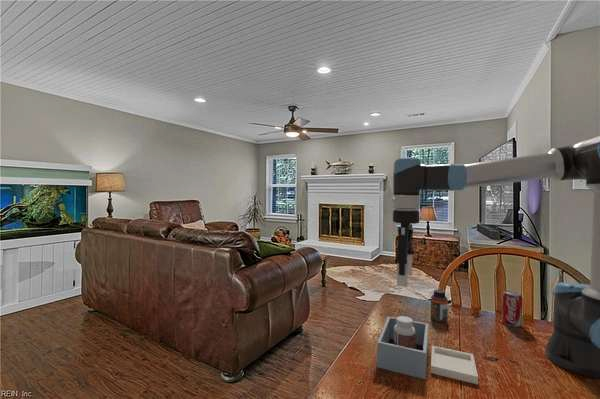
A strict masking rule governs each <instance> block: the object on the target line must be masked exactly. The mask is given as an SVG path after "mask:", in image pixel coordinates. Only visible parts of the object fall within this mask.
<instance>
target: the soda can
mask: <svg viewBox="0 0 600 399" xmlns="http://www.w3.org/2000/svg"><path fill="white" fill-rule="evenodd" d="M501 297H502V298H501V299H502V300H501V322H503V324H504V325H506V326H508V327H511V326H513V327H512V328H519V327H521V326H522V325H523V306H524V305H523V301H524V300H523V296H522V295H521V293H519V292H517V291H513V290H511V291H510V290H504V291H503V294H502V296H501Z"/></svg>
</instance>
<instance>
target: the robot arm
mask: <svg viewBox="0 0 600 399" xmlns="http://www.w3.org/2000/svg"><path fill="white" fill-rule="evenodd" d="M392 174H393V175H392V176H393V179H392V180H393V181H392V182H393V192H392V193H393V197H392V198H391V202H393V209H394V210H393V211H392V221H393V223H395V224H400V227H398V228H397V235H398V237H397V249H396V259H394V263H395V264H396V286H397V287H404V288H407V287H408V276H412V272H413V271H412V270H413V255H415V250H413V249H414V248H413V237H414V236H413V235H414V228H413V225H414V224H415V225H416V224H419V222H420V211H419V209H420V208H421V194H420V193H421V191H433V192H436V193H437V192H444V191H451V192H452V191H462V190H465V189H466V188H476V187H484V186H493V185H502V184H509V183H510V184H511V183H521V182H528V181H537V180H546V179H551V180H553V181H554V182H558V181H559V182H560V181H567V180H568V181H569V180H570V181H571V180H577V181H578V180H585V186H586V187H587V188H588V189H589V190H591V191H592V192H593V206H592V229H591V233H592V234H591V235H592V237H591V250H590V252H591V253H590V254H591V255H590V280H589V284H588V283H586V284H585V283H578V282H577V283H576V282H563V281H562V282H558V283H556V284H555V286H554V292H553V295H554V297H553V298H554V299H553V302H554V305H553V330H552V333H551V335H550V336H549V337H550V338H549V340H548V341H547V343H546V345H545V356H546V358H547V359H548V360H550V361H551V362H552V363H553V364H556V365H557V366H559V367H561V368H563V369H565V370H568V371H570V372H571V373H572V372H573V373H575V374H579V375H582V376H586V377H590V378H594V379H600V135H598V136H595V137H591V138H588V139H585V140H582V141H579V142H577V143H573V144H569V145H566V146H562V147H556V148H551V149H550V150H549V151H547V152H544V153H543V152H542V153H537V154H531V155H522V156H516V157H510V158H509V157H508V158H502V159H496V160H489V161H482V162H475V163H468V164H463V163H461V164H460V163H450V164H449V163H448V164H447V163H445V164H422V162H421V159H420V158H419V157H401V158H397V159H395V161H394V163H393V173H392Z"/></svg>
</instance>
